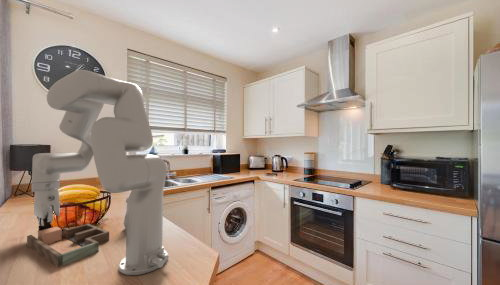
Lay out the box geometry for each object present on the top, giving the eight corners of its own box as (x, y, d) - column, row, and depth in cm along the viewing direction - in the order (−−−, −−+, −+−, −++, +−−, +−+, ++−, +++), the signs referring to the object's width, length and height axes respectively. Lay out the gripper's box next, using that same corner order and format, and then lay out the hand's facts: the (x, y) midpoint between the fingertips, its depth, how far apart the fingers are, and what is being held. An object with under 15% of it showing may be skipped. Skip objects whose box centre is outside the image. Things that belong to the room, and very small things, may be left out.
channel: (118, 243, 71) (118, 235, 71) (57, 267, 57) (58, 256, 57) (82, 228, 84) (82, 221, 84) (26, 244, 71) (27, 235, 71)
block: (61, 240, 74) (61, 229, 74) (42, 245, 70) (42, 234, 70) (56, 237, 77) (56, 226, 77) (37, 242, 72) (38, 231, 73)
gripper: (67, 186, 76) (66, 236, 75) (52, 182, 83) (50, 228, 83) (39, 189, 69) (37, 244, 69) (25, 185, 77) (24, 234, 76)
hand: (45, 235), depth 76 cm, fingers closed
